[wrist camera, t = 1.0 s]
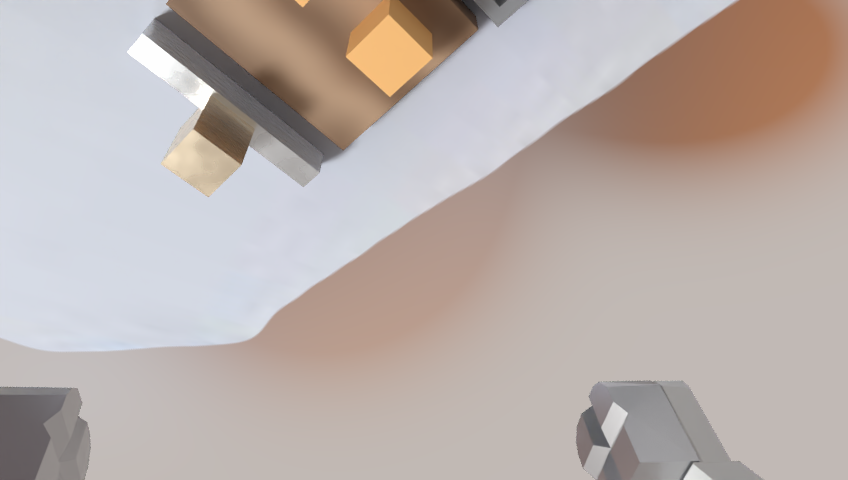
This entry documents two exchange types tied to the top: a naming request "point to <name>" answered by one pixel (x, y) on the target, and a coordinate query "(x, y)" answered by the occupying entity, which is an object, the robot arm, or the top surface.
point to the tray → (499, 9)
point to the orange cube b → (390, 46)
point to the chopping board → (320, 52)
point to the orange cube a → (302, 2)
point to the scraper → (219, 118)
